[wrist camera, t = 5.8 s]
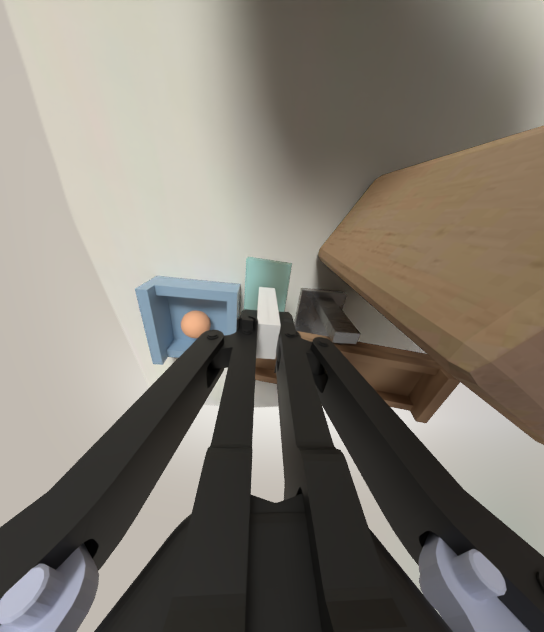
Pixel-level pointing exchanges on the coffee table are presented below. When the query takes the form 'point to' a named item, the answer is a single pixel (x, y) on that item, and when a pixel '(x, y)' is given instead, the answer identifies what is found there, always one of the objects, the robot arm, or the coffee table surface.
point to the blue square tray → (184, 311)
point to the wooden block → (460, 266)
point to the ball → (195, 323)
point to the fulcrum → (325, 316)
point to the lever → (360, 353)
